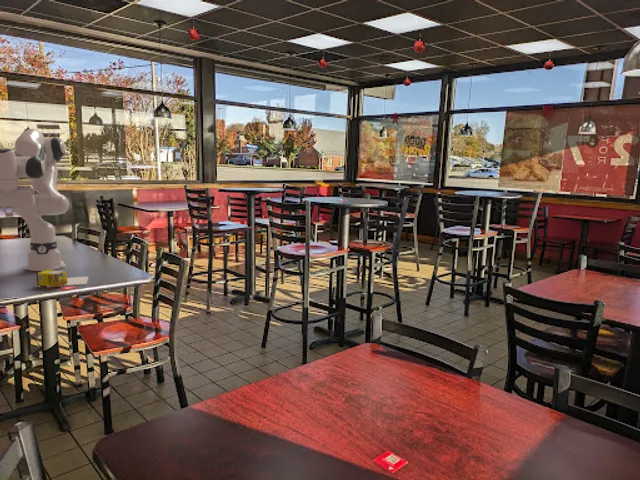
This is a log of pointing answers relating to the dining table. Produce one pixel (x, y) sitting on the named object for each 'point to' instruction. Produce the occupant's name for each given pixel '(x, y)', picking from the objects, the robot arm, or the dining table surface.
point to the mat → (74, 281)
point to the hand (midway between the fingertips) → (9, 216)
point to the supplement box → (51, 278)
